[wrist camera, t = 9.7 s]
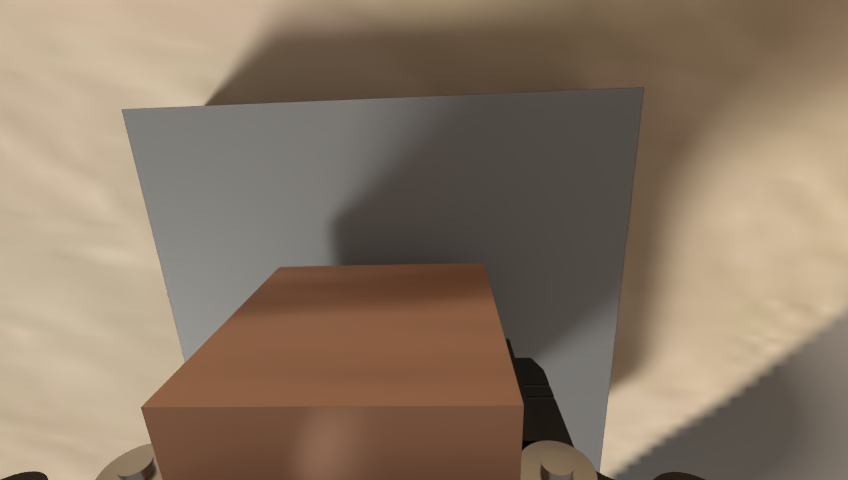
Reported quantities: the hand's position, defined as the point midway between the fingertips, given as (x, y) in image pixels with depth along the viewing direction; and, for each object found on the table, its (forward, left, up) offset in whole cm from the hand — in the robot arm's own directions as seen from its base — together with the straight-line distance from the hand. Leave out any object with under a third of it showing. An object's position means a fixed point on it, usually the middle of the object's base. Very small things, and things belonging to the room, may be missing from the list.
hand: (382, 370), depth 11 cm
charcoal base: (0, 0, -6) cm, 6 cm away
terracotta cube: (0, 0, -1) cm, 1 cm away
